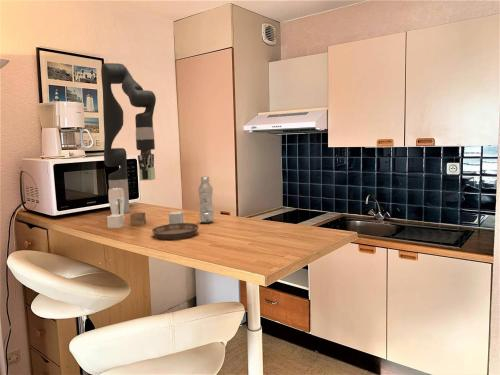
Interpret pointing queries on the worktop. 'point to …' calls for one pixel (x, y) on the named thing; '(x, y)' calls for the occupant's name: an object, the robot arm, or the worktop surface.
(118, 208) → the beer glass
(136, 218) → the walnut block
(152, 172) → the green block
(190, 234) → the plant saucer
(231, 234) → the worktop surface
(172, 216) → the grey block
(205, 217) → the plastic bottle
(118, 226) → the white block
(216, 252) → the worktop surface
